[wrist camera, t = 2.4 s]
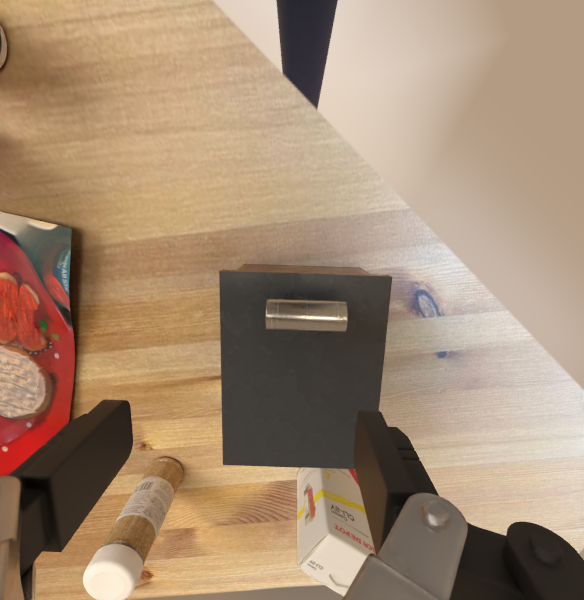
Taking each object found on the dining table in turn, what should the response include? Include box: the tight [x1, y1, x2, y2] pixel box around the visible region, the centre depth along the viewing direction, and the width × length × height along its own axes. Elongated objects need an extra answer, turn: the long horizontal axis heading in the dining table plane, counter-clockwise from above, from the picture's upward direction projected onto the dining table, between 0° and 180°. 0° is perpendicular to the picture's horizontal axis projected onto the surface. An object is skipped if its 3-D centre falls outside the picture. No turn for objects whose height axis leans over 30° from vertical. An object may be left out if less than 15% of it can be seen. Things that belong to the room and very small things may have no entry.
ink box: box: [297, 467, 376, 596], centre depth 35 cm, size 9×5×12 cm, turn 54°
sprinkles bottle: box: [83, 457, 184, 600], centre depth 34 cm, size 5×5×14 cm
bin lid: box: [220, 270, 392, 469], centre depth 24 cm, size 16×13×5 cm
